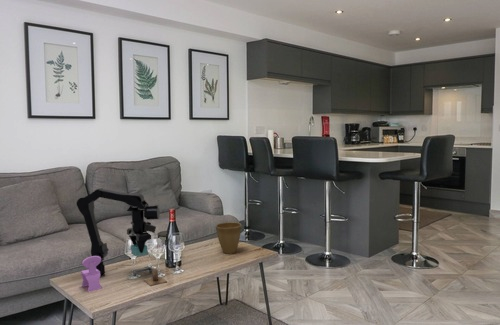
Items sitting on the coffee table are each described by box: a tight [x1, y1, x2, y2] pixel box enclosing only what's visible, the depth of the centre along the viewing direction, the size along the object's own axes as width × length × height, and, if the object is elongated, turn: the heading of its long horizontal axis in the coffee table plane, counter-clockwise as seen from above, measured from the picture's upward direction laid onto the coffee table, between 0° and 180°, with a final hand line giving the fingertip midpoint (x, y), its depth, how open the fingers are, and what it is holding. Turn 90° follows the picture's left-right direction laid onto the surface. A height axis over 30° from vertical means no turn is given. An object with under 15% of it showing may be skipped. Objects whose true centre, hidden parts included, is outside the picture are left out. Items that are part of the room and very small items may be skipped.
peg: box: [143, 268, 168, 287], centre depth 190 cm, size 8×8×6 cm
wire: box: [132, 266, 155, 277], centre depth 198 cm, size 9×7×2 cm
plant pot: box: [215, 221, 242, 254], centre depth 236 cm, size 15×15×16 cm
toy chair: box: [80, 255, 103, 293], centre depth 184 cm, size 8×9×15 cm
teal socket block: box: [130, 244, 148, 257], centre depth 199 cm, size 6×6×4 cm
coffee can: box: [156, 230, 168, 261], centre depth 227 cm, size 10×10×14 cm
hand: (139, 251), depth 199 cm, fingers closed on teal socket block, 6 cm apart
